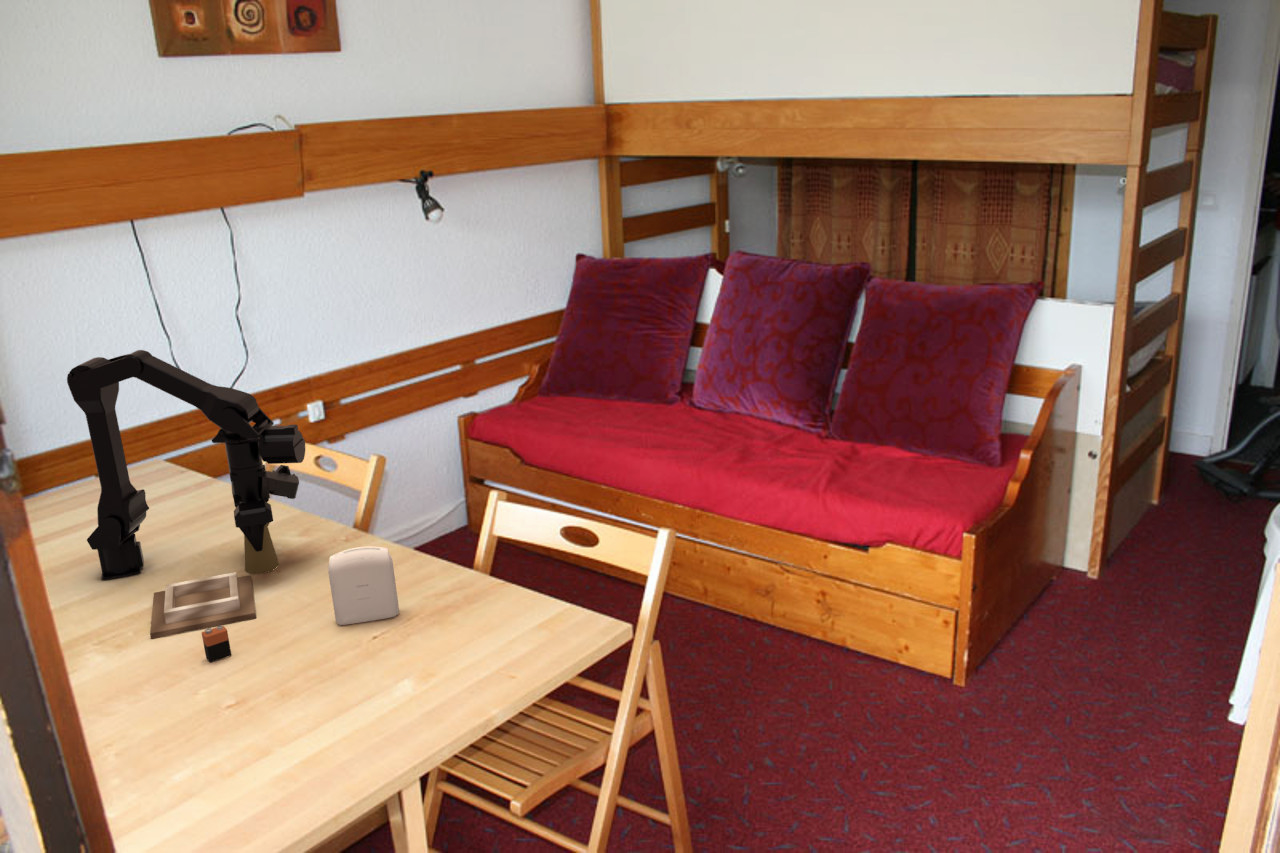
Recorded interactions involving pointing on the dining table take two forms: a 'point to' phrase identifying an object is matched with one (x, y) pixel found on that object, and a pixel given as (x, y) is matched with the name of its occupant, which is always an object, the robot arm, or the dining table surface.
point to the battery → (216, 643)
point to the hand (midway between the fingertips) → (258, 544)
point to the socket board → (202, 604)
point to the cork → (260, 555)
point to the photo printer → (363, 585)
